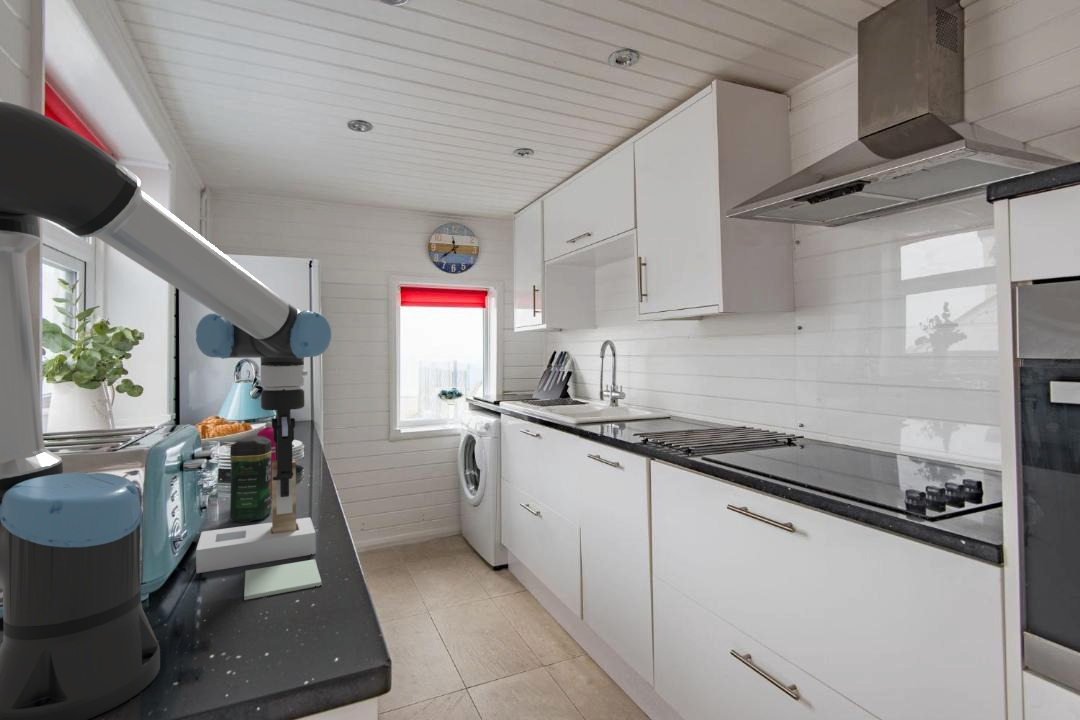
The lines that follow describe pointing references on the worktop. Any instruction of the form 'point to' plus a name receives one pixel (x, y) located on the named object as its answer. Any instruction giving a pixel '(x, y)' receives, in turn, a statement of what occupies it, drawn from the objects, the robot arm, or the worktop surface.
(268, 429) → the pepper mill
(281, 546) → the white box
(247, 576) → the mat
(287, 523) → the tan wooden tall block
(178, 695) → the worktop surface
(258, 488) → the coffee jar
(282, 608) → the worktop surface
